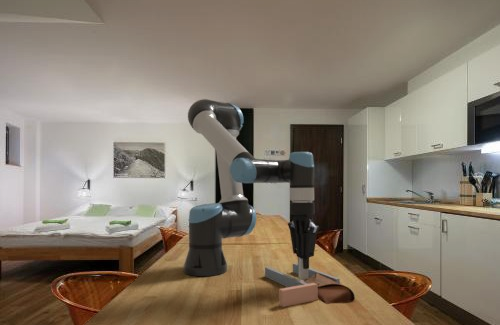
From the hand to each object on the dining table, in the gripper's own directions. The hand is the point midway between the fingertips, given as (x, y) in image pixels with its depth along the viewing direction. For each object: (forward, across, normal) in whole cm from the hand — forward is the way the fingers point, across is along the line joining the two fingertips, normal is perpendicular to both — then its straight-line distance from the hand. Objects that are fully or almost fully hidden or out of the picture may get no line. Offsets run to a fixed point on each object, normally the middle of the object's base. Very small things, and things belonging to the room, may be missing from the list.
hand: (303, 278), depth 103 cm
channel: (+2, +2, 0) cm, 2 cm away
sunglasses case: (+2, -9, 0) cm, 9 cm away
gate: (+2, -12, +11) cm, 17 cm away
